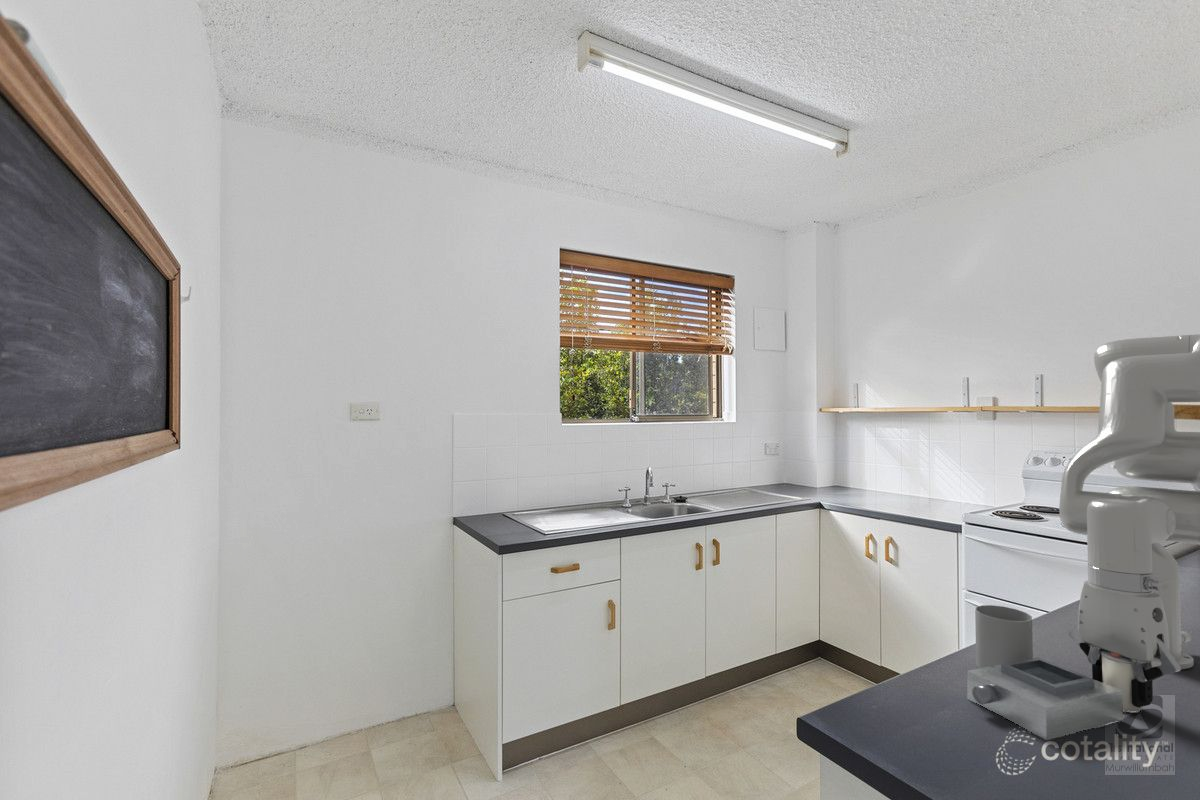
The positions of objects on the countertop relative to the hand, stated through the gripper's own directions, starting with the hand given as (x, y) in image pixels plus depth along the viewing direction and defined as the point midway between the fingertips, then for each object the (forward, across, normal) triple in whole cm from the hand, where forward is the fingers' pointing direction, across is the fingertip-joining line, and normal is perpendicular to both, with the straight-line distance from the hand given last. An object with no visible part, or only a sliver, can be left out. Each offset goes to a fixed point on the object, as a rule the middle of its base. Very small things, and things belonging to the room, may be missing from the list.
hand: (1121, 696), depth 89 cm
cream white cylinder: (+2, 0, 0) cm, 2 cm away
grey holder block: (+2, +3, +14) cm, 15 cm away
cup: (+2, +15, +5) cm, 16 cm away
